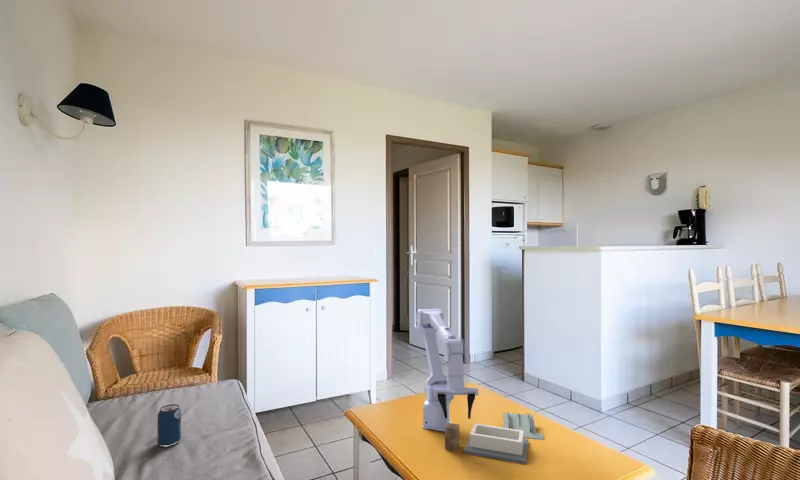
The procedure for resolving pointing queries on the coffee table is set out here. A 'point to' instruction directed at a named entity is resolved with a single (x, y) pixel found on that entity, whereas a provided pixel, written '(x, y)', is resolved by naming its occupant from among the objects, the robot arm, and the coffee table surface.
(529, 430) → the metal bracket
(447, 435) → the walnut block
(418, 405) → the coffee table surface
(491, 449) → the well
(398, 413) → the coffee table surface
